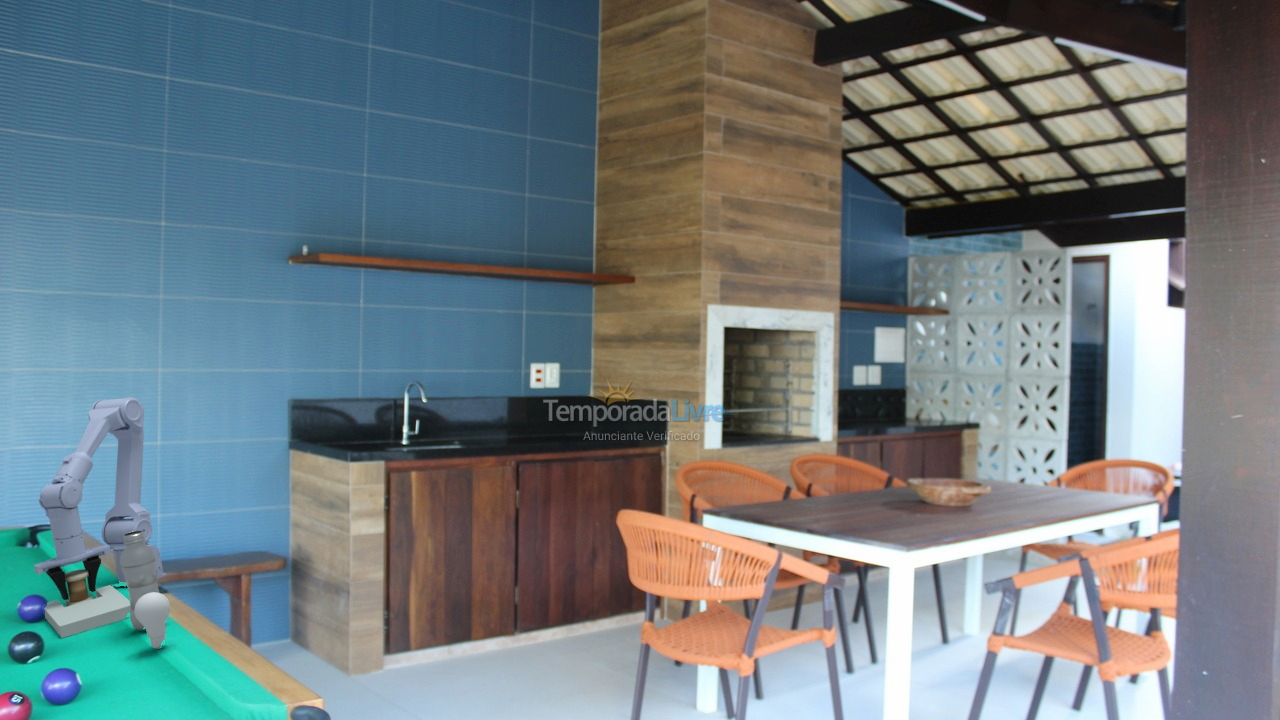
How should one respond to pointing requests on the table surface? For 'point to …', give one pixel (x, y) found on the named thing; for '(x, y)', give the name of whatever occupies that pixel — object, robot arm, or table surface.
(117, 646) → the table surface
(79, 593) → the bobbin
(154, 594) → the lightbulb
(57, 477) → the robot arm
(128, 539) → the plastic bottle
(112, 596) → the notched board
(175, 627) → the table surface
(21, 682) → the table surface
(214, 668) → the table surface
